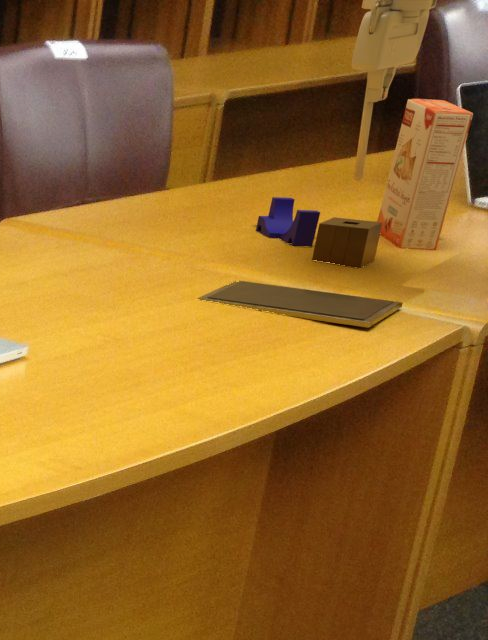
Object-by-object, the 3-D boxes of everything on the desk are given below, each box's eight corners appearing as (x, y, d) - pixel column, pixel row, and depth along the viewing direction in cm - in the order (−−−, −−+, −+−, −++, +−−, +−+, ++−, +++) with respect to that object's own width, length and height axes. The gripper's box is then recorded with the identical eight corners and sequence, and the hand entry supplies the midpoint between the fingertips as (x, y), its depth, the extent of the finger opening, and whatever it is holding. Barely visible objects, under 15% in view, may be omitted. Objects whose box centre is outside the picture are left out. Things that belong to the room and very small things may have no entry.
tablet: (401, 307, 204) (403, 301, 204) (368, 327, 194) (370, 321, 194) (235, 284, 217) (236, 279, 217) (196, 303, 207) (197, 297, 206)
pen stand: (373, 263, 231) (382, 222, 228) (359, 270, 226) (369, 228, 223) (325, 257, 235) (333, 217, 232) (310, 264, 230) (319, 223, 227)
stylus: (363, 180, 225) (378, 77, 219) (360, 181, 224) (375, 77, 218) (354, 180, 225) (369, 77, 220) (352, 181, 225) (366, 77, 219)
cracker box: (371, 231, 252) (406, 97, 242) (410, 234, 251) (447, 99, 241) (395, 250, 239) (433, 109, 230) (436, 252, 239) (476, 111, 229)
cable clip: (254, 234, 249) (263, 196, 247) (282, 235, 249) (291, 197, 247) (281, 250, 239) (291, 211, 236) (310, 251, 239) (320, 212, 236)
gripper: (401, -1, 205) (378, 108, 211) (441, -6, 219) (418, 96, 225) (352, -3, 208) (330, 105, 214) (394, -8, 222) (372, 93, 228)
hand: (375, 100), depth 220 cm, fingers closed on stylus, 1 cm apart
